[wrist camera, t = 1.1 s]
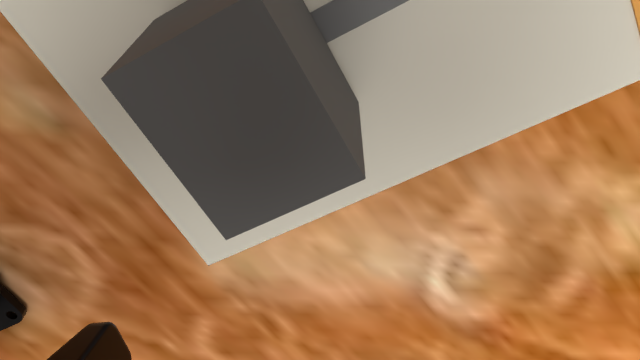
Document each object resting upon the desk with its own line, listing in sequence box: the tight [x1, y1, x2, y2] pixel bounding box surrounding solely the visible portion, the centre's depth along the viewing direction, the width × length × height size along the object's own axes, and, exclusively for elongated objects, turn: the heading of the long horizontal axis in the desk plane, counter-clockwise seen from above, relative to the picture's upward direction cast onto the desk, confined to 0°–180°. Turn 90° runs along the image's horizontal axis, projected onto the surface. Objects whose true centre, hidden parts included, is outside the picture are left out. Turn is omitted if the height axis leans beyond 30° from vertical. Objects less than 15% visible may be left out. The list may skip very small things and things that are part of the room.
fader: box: [101, 0, 366, 240], centre depth 15 cm, size 4×5×4 cm
